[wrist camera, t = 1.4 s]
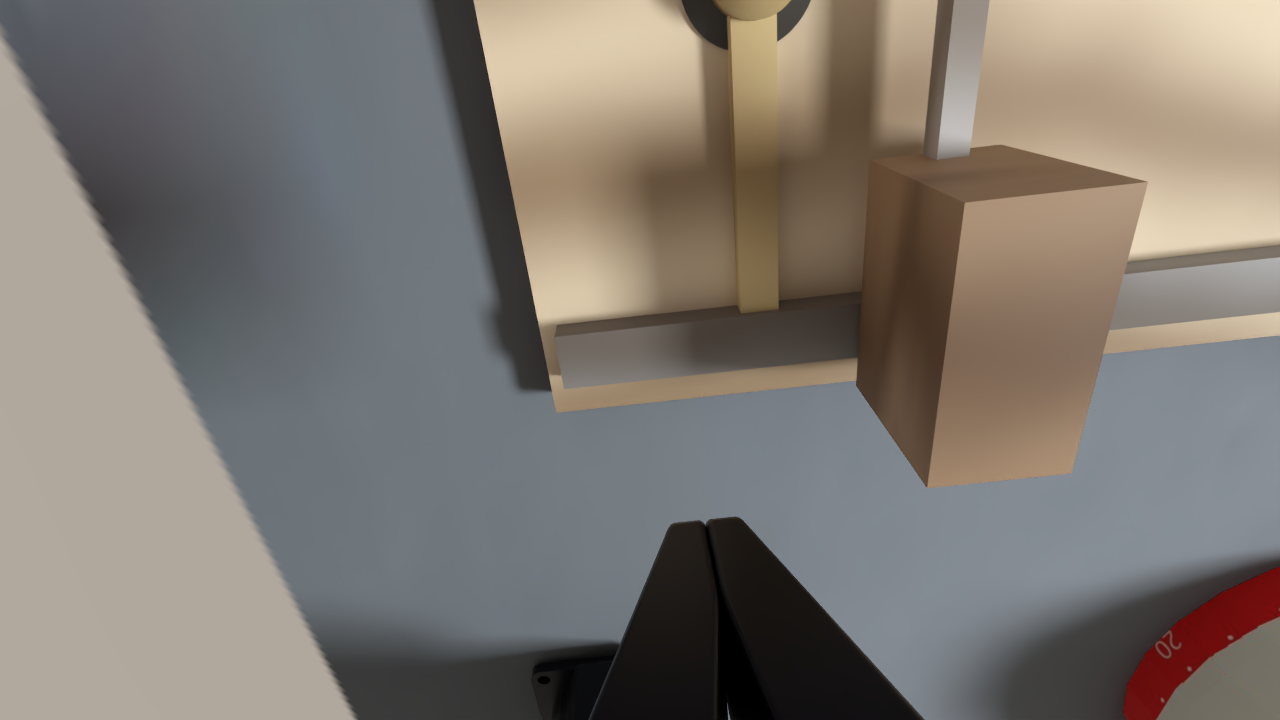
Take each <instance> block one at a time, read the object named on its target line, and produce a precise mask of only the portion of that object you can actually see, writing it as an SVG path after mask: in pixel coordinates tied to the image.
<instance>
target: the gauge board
mask: <svg viewBox="0 0 1280 720" xmlns="http://www.w3.org/2000/svg"><path fill="white" fill-rule="evenodd" d="M937 3H938V0H474V5H475V10H476V15H477V20H478V25H479V30H480V35H481V40H482V45H483V50H484V55H485V60H486V65H487V70H488V75H489V80H490V85H491V90H492V95H493V100H494V105H495V110H496V115H497V120H498V125H499V130H500V135H501V140H502V145H503V150H504V155H505V160H506V165H507V170H508V175H509V180H510V185H511V190H512V195H513V200H514V204H515V209H516V214H517V219H518V224H519V229H520V234H521V239H522V244H523V249H524V254H525V259H526V264H527V269H528V274H529V279H530V284H531V289H532V294H533V299H534V304H535V309H536V314H537V319H538V324H539V329H540V334H541V339H542V344H543V349H544V354H545V359H546V364H547V369H548V374H549V379H550V384H551V389H552V394H553V399H554V404H555V409H556V412H566V411H575V410H584V409H594V408H603V407H612V406H622V405H631V404H641V403H650V402H659V401H669V400H678V399H687V398H697V397H706V396H715V395H725V394H734V393H743V392H753V391H762V390H771V389H781V388H790V387H800V386H809V385H818V384H828V383H837V382H846V381H856V378H857V362H858V345H859V328H860V312H861V295H862V278H863V262H864V245H865V228H866V211H867V195H868V178H869V161H870V160H871V159H880V158H889V157H897V156H906V155H915V154H923V147H924V137H925V126H926V116H927V106H928V96H929V85H930V75H931V65H932V55H933V44H934V34H935V24H936V14H937ZM992 145H1005V146H1009V147H1013V148H1017V149H1021V150H1025V151H1029V152H1033V153H1037V154H1041V155H1045V156H1049V157H1053V158H1057V159H1060V160H1064V161H1068V162H1072V163H1076V164H1080V165H1084V166H1088V167H1092V168H1096V169H1100V170H1104V171H1108V172H1112V173H1116V174H1119V175H1123V176H1127V177H1131V178H1135V179H1139V180H1143V181H1147V182H1148V185H1147V189H1146V192H1145V196H1144V200H1143V204H1142V208H1141V211H1140V215H1139V219H1138V223H1137V227H1136V230H1135V234H1134V238H1133V242H1132V246H1131V249H1130V253H1129V257H1128V261H1127V265H1126V268H1125V272H1124V276H1123V280H1122V283H1121V287H1120V291H1119V295H1118V299H1117V302H1116V306H1115V310H1114V314H1113V318H1112V321H1111V325H1110V329H1109V333H1108V337H1107V340H1106V344H1105V348H1104V352H1103V354H1108V353H1117V352H1127V351H1136V350H1145V349H1155V348H1164V347H1174V346H1183V345H1192V344H1202V343H1211V342H1220V341H1230V340H1239V339H1248V338H1258V337H1267V336H1276V335H1280V0H990V2H989V9H988V17H987V25H986V32H985V40H984V48H983V55H982V63H981V70H980V78H979V86H978V93H977V101H976V109H975V116H974V124H973V132H972V139H971V147H970V148H975V147H983V146H992Z"/></svg>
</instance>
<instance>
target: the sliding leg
mask: <svg viewBox="0 0 1280 720" xmlns="http://www.w3.org/2000/svg"><path fill="white" fill-rule="evenodd" d="M989 2H990V0H938V3H937V14H936V24H935V34H934V44H933V55H932V65H931V75H930V85H929V96H928V106H927V116H926V126H925V137H924V147H923V154H915V155H906V156H897V157H889V158H880V159H871V160H870V161H869V178H868V195H867V211H866V228H865V245H864V262H863V278H862V295H861V312H860V328H859V345H858V362H857V378H856V386H857V388H858V389H859V390H860V392H861V393H862V395H863V396H864V398H865V399H866V401H867V402H868V403H869V405H870V406H871V408H872V409H873V411H874V412H875V414H876V415H877V416H878V418H879V419H880V421H881V422H882V424H883V425H884V427H885V428H886V429H887V431H888V432H889V434H890V435H891V437H892V438H893V439H894V441H895V442H896V444H897V445H898V447H899V448H900V450H901V451H902V452H903V454H904V455H905V457H906V458H907V460H908V461H909V463H910V464H911V465H912V467H913V468H914V470H915V471H916V473H917V474H918V476H919V477H920V478H921V480H922V481H923V483H924V484H925V486H926V487H927V488H933V487H943V486H952V485H962V484H972V483H982V482H992V481H1001V480H1011V479H1021V478H1031V477H1041V476H1050V475H1060V474H1070V473H1072V469H1073V466H1074V462H1075V458H1076V454H1077V450H1078V447H1079V443H1080V439H1081V435H1082V431H1083V428H1084V424H1085V420H1086V416H1087V412H1088V409H1089V405H1090V401H1091V397H1092V393H1093V390H1094V386H1095V382H1096V378H1097V375H1098V371H1099V367H1100V363H1101V359H1102V356H1103V352H1104V348H1105V344H1106V340H1107V337H1108V333H1109V329H1110V325H1111V321H1112V318H1113V314H1114V310H1115V306H1116V302H1117V299H1118V295H1119V291H1120V287H1121V283H1122V280H1123V276H1124V272H1125V268H1126V265H1127V261H1128V257H1129V253H1130V249H1131V246H1132V242H1133V238H1134V234H1135V230H1136V227H1137V223H1138V219H1139V215H1140V211H1141V208H1142V204H1143V200H1144V196H1145V192H1146V189H1147V185H1148V182H1147V181H1143V180H1139V179H1135V178H1131V177H1127V176H1123V175H1119V174H1116V173H1112V172H1108V171H1104V170H1100V169H1096V168H1092V167H1088V166H1084V165H1080V164H1076V163H1072V162H1068V161H1064V160H1060V159H1057V158H1053V157H1049V156H1045V155H1041V154H1037V153H1033V152H1029V151H1025V150H1021V149H1017V148H1013V147H1009V146H1005V145H992V146H983V147H975V148H970V147H971V139H972V132H973V124H974V116H975V109H976V101H977V93H978V86H979V78H980V70H981V63H982V55H983V48H984V40H985V32H986V25H987V17H988V9H989Z"/></svg>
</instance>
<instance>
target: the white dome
mask: <svg viewBox="0 0 1280 720" xmlns="http://www.w3.org/2000/svg"><path fill="white" fill-rule="evenodd" d="M1123 712H1124V715H1125V717H1126V720H1280V567H1278V568H1274V569H1272V570H1270V571H1267V572H1265V573H1263V574H1261V575H1259V576H1257V577H1254V578H1252V579H1250V580H1248V581H1246V582H1244V583H1241V584H1239V585H1237V586H1235V587H1233V588H1231V589H1228V590H1226V591H1224V592H1222V593H1220V594H1219V595H1217V596H1216V597H1214V598H1213V599H1211V600H1210V601H1208V602H1207V603H1205V604H1204V605H1202V606H1201V607H1199V608H1198V609H1196V610H1195V611H1193V612H1192V613H1190V614H1189V615H1187V616H1186V617H1184V618H1183V619H1181V620H1180V621H1178V622H1177V623H1176V624H1175V625H1174V626H1173V627H1172V628H1171V629H1170V630H1169V631H1168V632H1167V633H1166V634H1165V635H1164V636H1163V637H1162V638H1161V639H1160V640H1159V641H1158V642H1157V643H1156V644H1155V645H1154V646H1153V647H1152V648H1151V649H1150V650H1149V651H1148V652H1147V653H1146V654H1145V655H1144V657H1143V659H1142V660H1141V662H1140V664H1139V666H1138V667H1137V669H1136V671H1135V672H1134V674H1133V676H1132V677H1131V679H1130V681H1129V683H1128V684H1127V690H1126V697H1125V704H1124V710H1123Z"/></svg>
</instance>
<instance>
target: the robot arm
mask: <svg viewBox="0 0 1280 720" xmlns="http://www.w3.org/2000/svg"><path fill="white" fill-rule="evenodd" d="M532 685H533V688H534V691H535V695H536V698H537V702H538V705H539V709H540V712H541V715H542V719H543V720H728V710H727V703H728V709H729V715H730V719H731V720H924V719H923V717H922V716H921V715H920V714H919V713H918V712H917V711H916V710H915V709H914V708H913V706H912V705H911V704H910V703H909V702H908V701H907V700H906V699H905V698H904V697H903V695H902V694H901V693H900V692H899V691H898V690H897V689H896V688H895V687H894V686H893V685H892V683H891V682H890V681H889V680H888V679H887V678H886V677H885V676H884V675H883V674H882V672H881V671H880V670H879V669H878V668H877V667H876V666H875V665H874V664H873V663H872V661H871V660H870V659H869V658H868V657H867V656H866V655H865V654H864V653H863V652H862V651H861V649H860V648H859V647H858V646H857V645H856V644H855V643H854V642H853V641H852V640H851V638H850V637H849V636H848V635H847V634H846V633H845V632H844V631H843V630H842V629H841V627H840V626H839V625H838V624H837V623H836V622H835V621H834V620H833V619H832V618H831V616H830V615H829V614H828V613H827V612H826V611H825V610H824V609H823V608H822V607H821V606H820V604H819V603H818V602H817V601H816V600H815V599H814V598H813V597H812V596H811V595H810V593H809V592H808V591H807V590H806V589H805V588H804V587H803V586H802V585H801V584H800V582H799V581H798V580H797V579H796V578H795V577H794V576H793V575H792V574H791V573H790V572H789V570H788V569H787V568H786V567H785V566H784V565H783V564H782V563H781V562H780V561H779V559H778V558H777V557H776V556H775V555H774V554H773V553H772V552H771V551H770V550H769V548H768V547H767V546H766V545H765V544H764V543H763V542H762V541H761V540H760V539H759V537H758V536H757V535H756V534H755V533H754V532H753V531H752V530H751V529H750V528H749V527H748V525H747V524H746V523H745V522H744V521H743V520H742V519H740V518H738V517H727V518H717V519H710V520H708V521H707V523H706V527H705V524H704V523H703V522H702V521H699V520H697V521H688V522H678V523H673V524H671V525H670V527H669V528H668V530H667V532H666V535H665V537H664V540H663V542H662V544H661V547H660V549H659V552H658V554H657V556H656V559H655V561H654V564H653V566H652V568H651V571H650V573H649V576H648V578H647V581H646V583H645V585H644V588H643V590H642V593H641V595H640V597H639V600H638V602H637V605H636V607H635V609H634V612H633V614H632V617H631V619H630V621H629V624H628V626H627V629H626V631H625V633H624V636H623V638H622V641H621V643H620V645H619V648H618V650H617V653H616V655H615V656H611V657H601V658H590V659H580V660H569V661H559V662H549V663H541V664H538V665H536V666H535V667H534V668H533V672H532Z"/></svg>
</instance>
